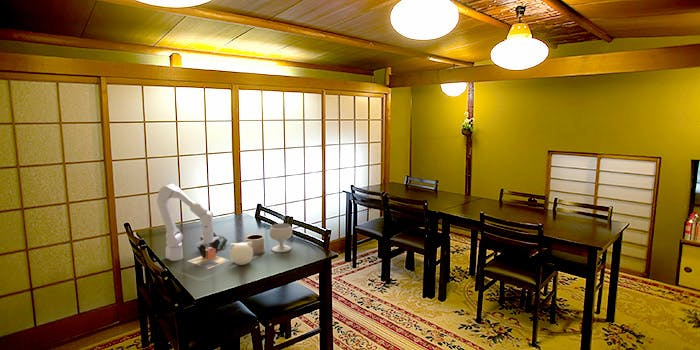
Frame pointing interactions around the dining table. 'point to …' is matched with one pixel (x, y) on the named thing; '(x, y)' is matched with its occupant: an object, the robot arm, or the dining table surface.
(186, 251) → the dining table surface
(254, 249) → the planter
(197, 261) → the board
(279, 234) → the chalice
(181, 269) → the dining table surface
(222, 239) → the lucky cat figurine
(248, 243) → the cat head
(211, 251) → the strapped orange box
